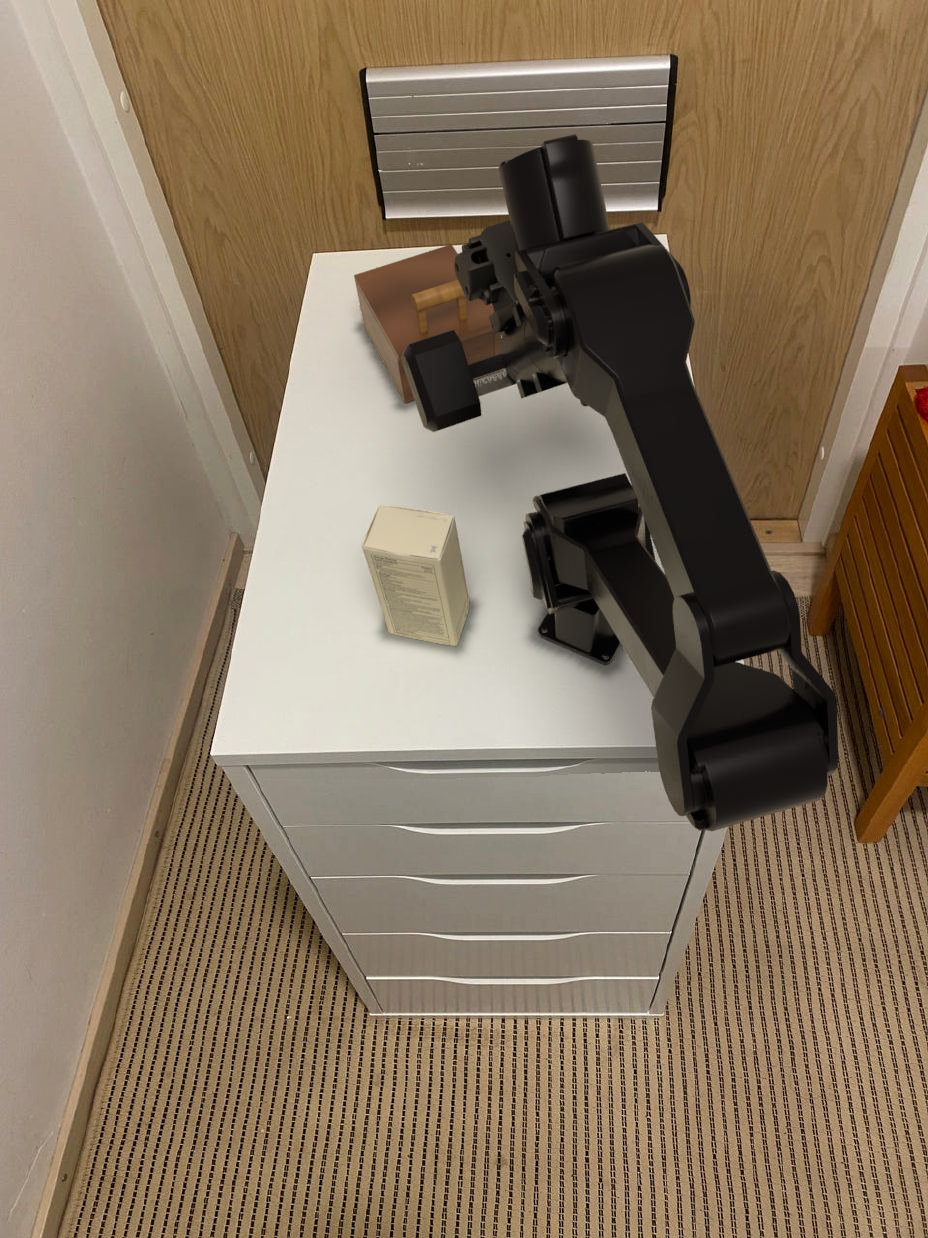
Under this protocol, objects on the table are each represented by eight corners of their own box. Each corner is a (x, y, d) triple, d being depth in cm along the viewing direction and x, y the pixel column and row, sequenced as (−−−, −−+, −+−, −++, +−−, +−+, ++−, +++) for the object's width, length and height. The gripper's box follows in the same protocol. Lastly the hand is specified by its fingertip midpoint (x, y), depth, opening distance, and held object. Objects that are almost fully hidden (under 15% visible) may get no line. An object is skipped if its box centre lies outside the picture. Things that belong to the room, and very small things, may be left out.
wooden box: (503, 370, 95) (500, 323, 90) (405, 403, 94) (397, 358, 89) (456, 297, 102) (452, 250, 97) (364, 328, 100) (355, 281, 96)
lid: (503, 327, 90) (501, 282, 86) (399, 361, 89) (391, 318, 84) (452, 250, 97) (447, 206, 93) (354, 281, 96) (346, 237, 91)
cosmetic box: (471, 606, 80) (459, 514, 70) (456, 650, 78) (442, 561, 67) (400, 592, 81) (379, 500, 71) (384, 635, 79) (359, 546, 69)
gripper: (662, 166, 61) (582, 230, 76) (389, 251, 58) (363, 300, 73) (708, 338, 63) (622, 367, 78) (447, 427, 60) (410, 439, 75)
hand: (506, 365), depth 76 cm, fingers open, 9 cm apart
